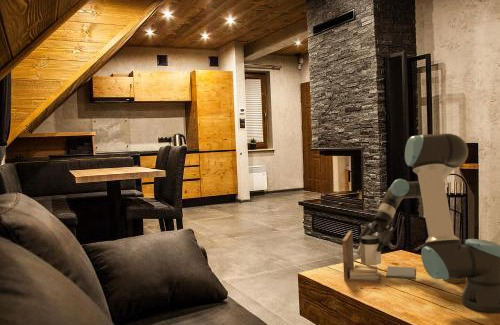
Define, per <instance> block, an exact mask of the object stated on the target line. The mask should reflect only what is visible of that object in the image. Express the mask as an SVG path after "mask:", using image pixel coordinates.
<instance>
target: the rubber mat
mask: <svg viewBox="0 0 500 325" xmlns="http://www.w3.org/2000/svg"><path fill="white" fill-rule="evenodd" d="M385 278H393V279H409V280H411V279H412V280H415V279H416V267H412V266H411V267H410V266H409V267H408V266H390V265H388V266H387V269H386V273H385Z"/></svg>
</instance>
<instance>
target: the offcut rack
mask: <svg viewBox="0 0 500 325" xmlns="http://www.w3.org/2000/svg"><path fill="white" fill-rule="evenodd" d="M353 238H354V237H353V230H349V231H348V232H347V233H346V234H345V236H344V237H343V239H342V240H341V241H342V259H343V260H342V261H343V262H342V264H343V281H344V282H353V283H354V282H357V283H359V282H360V283H371V284H380V283H381V280H382V276H381V275H380V272H378V265H356V264H355V263H354V260H355V259H354V241H353V240H354V239H353ZM354 264H355V265H354Z"/></svg>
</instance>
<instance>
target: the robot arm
mask: <svg viewBox="0 0 500 325" xmlns="http://www.w3.org/2000/svg"><path fill="white" fill-rule="evenodd" d="M404 148H405V149H404V161H405V164H406V165H407V166H408V167H412V172H413V173H414V174H416V175H417V177H418V181H407V180H405V179H402V178H398V179H395V180H394V181H393V182H392V184H391V185H390V187H388V189H387V191H386V192H385V196H384V198H383V200H382V202H381V204H380V205H379V207H378V209H377V212H376V214H375V216H374V219H373V221H372V223H371V222H368V221H367V222H366V224H365V226H364V227H363V229H362V231H361V232H360V234H359V235H358V237H357V239H358V241H359V243H358V246H357V247H358V248H357V250H356V251H355V252H356V254H357V255H358V256H360V257H361V251H360V243H361V237H362V236H368V235H371V236H374V235H375V234H376V233H378V234H379V236H378V237H379V243H378V244H377V246H376V249H375V250H374V251H373V253H372V256H373V258H374V259H376V257H377V255H378V253H379V252H380V251H381V252H382V249H383V247H384V246H385V247H387V246H389V242H390V239H391V235H392V233H393V231H394V227H393V225H391V223H392V221H393V218H394V216H395V214H396V212H397V209H398V207H399V206H400V204H401V202H402V201H403V199H415V198H421V200H422V207H423V210H424V212H423V213H424V218H425V223H426V230H427V235H428V236H427V238H426V240H425V242H424V244H425V246H423V247H422V248H421V252H420V253H421V255H420V256H421V262H422V265H423V268H424V270H425V272H426V273H427V274H428V276H430V277H431V279H434V280H443V279H444V280H447V279H457V278H467V281H466V282H465V283H466V284H465V286H464V288H463V289H464V290H463V292H462V294H461V303H462V304H463V305H464V306H465V307H466V308H468V309H470V310H474V311H477V312H482V313H488V314H489V313H492V314H494V313H495V314H496V313H500V244H499V243H496V242H494V241H489V240H486V239H477V238H468V239H465V242H464V243H465V244H461V241H460V238H459V237H458V236H456V235H455V233H454V227H453V223H452V217H451V213H450V207H449V202H448V196H447V190H446V184H445V180H446V179H447V178H448V176H450V175H451V174H452V173H453V171H454V170H455V169H456V168H460V167H461V166H463V164H465V162H466V160H467V158H468V156H469V148H468V145H467V143H466V141H465V140H464V139H463V138H462V137H461V136H459V135H456V134H453V133H439V134H438V133H434V134H433V133H432V134H420V135H412V136H410V137H409V138H408V139H407V141H406V144H405V147H404ZM444 280H443V281H444Z"/></svg>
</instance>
